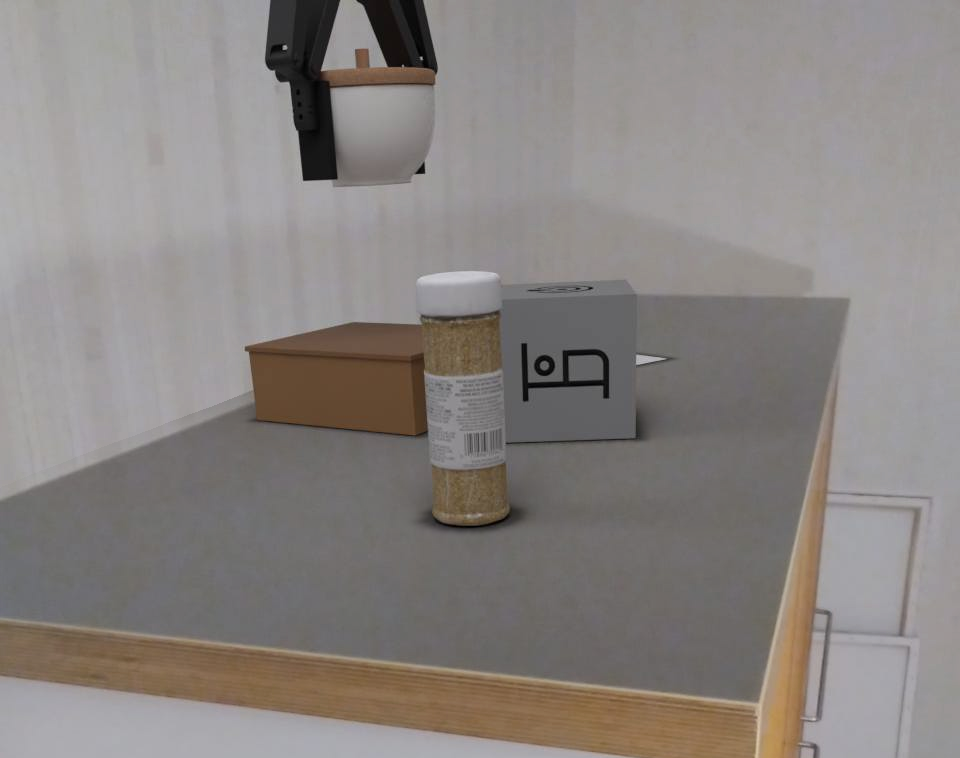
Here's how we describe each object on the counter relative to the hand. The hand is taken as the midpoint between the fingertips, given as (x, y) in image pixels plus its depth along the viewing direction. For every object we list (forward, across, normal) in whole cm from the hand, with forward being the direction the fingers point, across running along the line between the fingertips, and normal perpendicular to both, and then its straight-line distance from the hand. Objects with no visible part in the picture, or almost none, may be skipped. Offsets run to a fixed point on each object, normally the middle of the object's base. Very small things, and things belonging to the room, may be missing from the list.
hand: (367, 177), depth 87 cm
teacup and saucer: (+18, +24, 0) cm, 30 cm away
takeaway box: (+18, 0, 0) cm, 18 cm away
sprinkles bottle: (+18, -23, -23) cm, 37 cm away
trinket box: (+1, 0, 0) cm, 1 cm away
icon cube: (+18, 0, -17) cm, 25 cm away
